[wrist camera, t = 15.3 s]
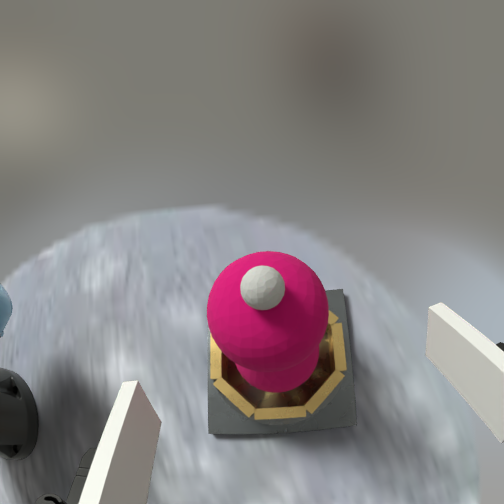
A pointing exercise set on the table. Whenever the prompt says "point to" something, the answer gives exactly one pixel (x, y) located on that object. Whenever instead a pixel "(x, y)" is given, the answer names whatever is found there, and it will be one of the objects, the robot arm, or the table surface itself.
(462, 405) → the table surface
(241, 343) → the pepper mill
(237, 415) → the silver and gold bowl
